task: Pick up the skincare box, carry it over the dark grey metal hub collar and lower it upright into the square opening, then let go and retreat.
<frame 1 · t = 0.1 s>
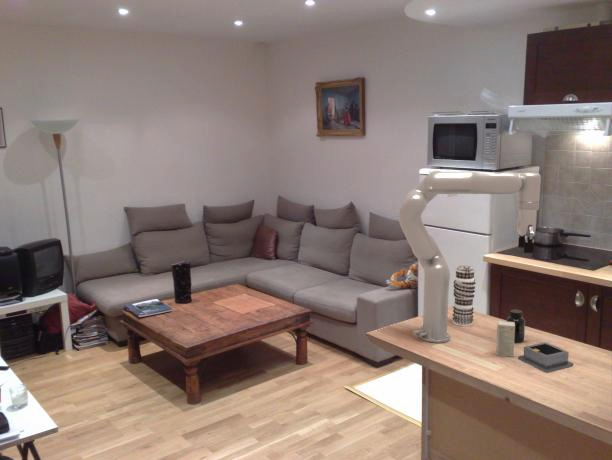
hand: (525, 249, 214), 37 cm above the table, tool pointing down, fingers open, 9 cm apart
skincare box: (504, 354, 209), on the table
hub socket: (545, 362, 201), on the table
decorative candle: (462, 323, 243), on the table
supplement bottle: (514, 340, 222), on the table
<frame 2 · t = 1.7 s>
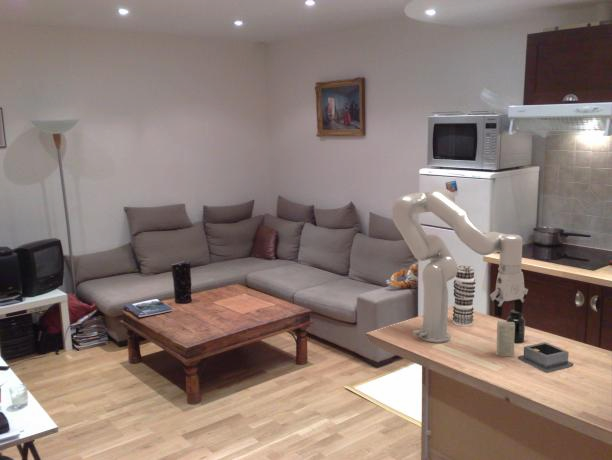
hand: (508, 313, 206), 16 cm above the table, tool pointing down, fingers open, 9 cm apart
nothing on the table moved.
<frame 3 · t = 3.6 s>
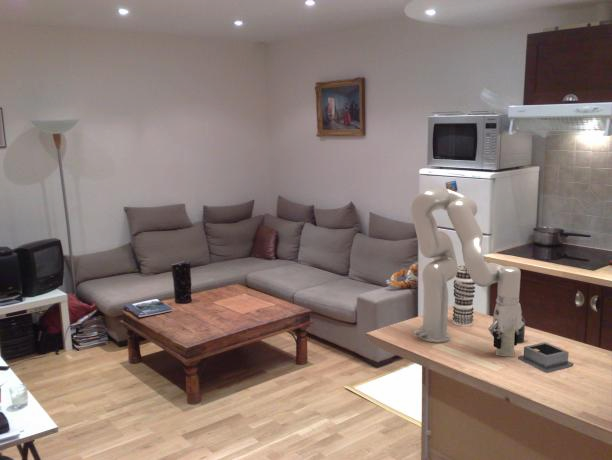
hand: (505, 345, 208), 3 cm above the table, tool pointing down, fingers closed on skincare box, 7 cm apart
skincare box: (504, 354, 209), on the table, touching gripper
everything else where it was.
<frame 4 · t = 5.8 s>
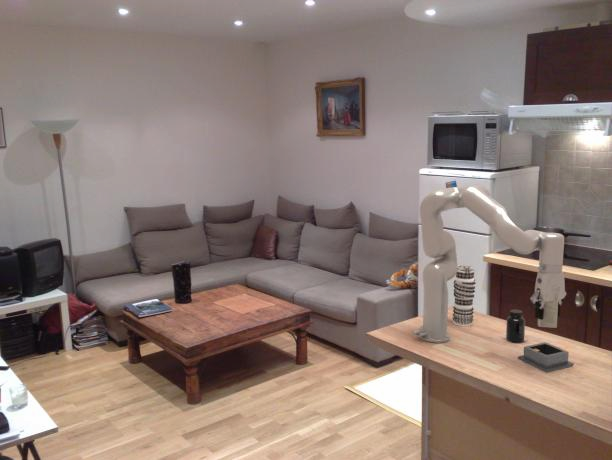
hand: (547, 316, 198), 17 cm above the table, tool pointing down, fingers closed on skincare box, 7 cm apart
skincare box: (546, 326, 199), point 14 cm above the table, touching gripper
everything else where it was.
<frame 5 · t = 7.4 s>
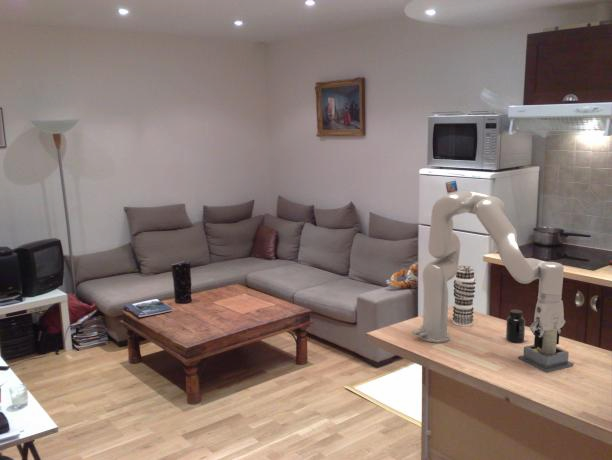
hand: (546, 344, 200), 7 cm above the table, tool pointing down, fingers closed on skincare box, 7 cm apart
skincare box: (545, 354, 200), point 3 cm above the table, touching gripper
everything else where it was.
when the fingers open (6 cm above the table, at t = 8.4 s): skincare box drops 2 cm, resting on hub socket.
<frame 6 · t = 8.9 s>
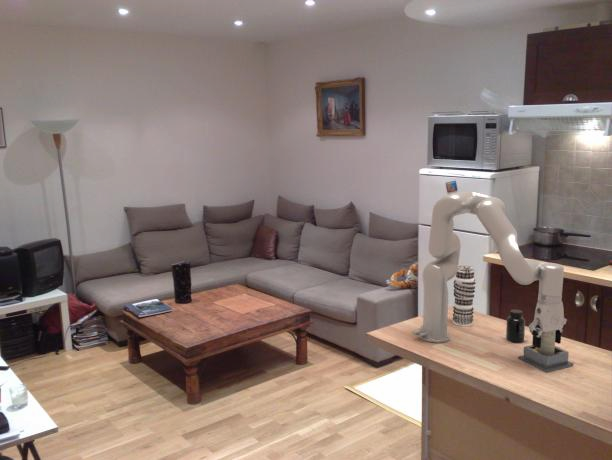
hand: (546, 344, 200), 7 cm above the table, tool pointing down, fingers open, 9 cm apart
skincare box: (543, 360, 201), point 1 cm above the table, touching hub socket
everything else where it was.
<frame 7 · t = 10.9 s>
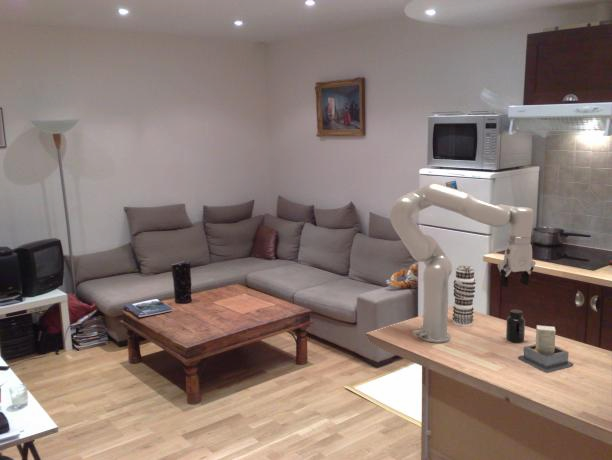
hand: (514, 284, 210), 25 cm above the table, tool pointing down, fingers open, 9 cm apart
nothing on the table moved.
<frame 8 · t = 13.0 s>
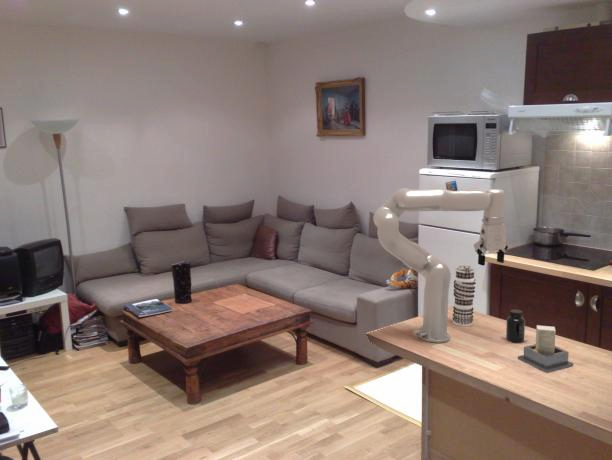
hand: (490, 263, 221), 30 cm above the table, tool pointing down, fingers open, 9 cm apart
nothing on the table moved.
at the end: skincare box 0.5 cm off-centre on the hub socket, point 0.8 cm above the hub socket's base; skincare box tilted 0°; the gripper is holding nothing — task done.
